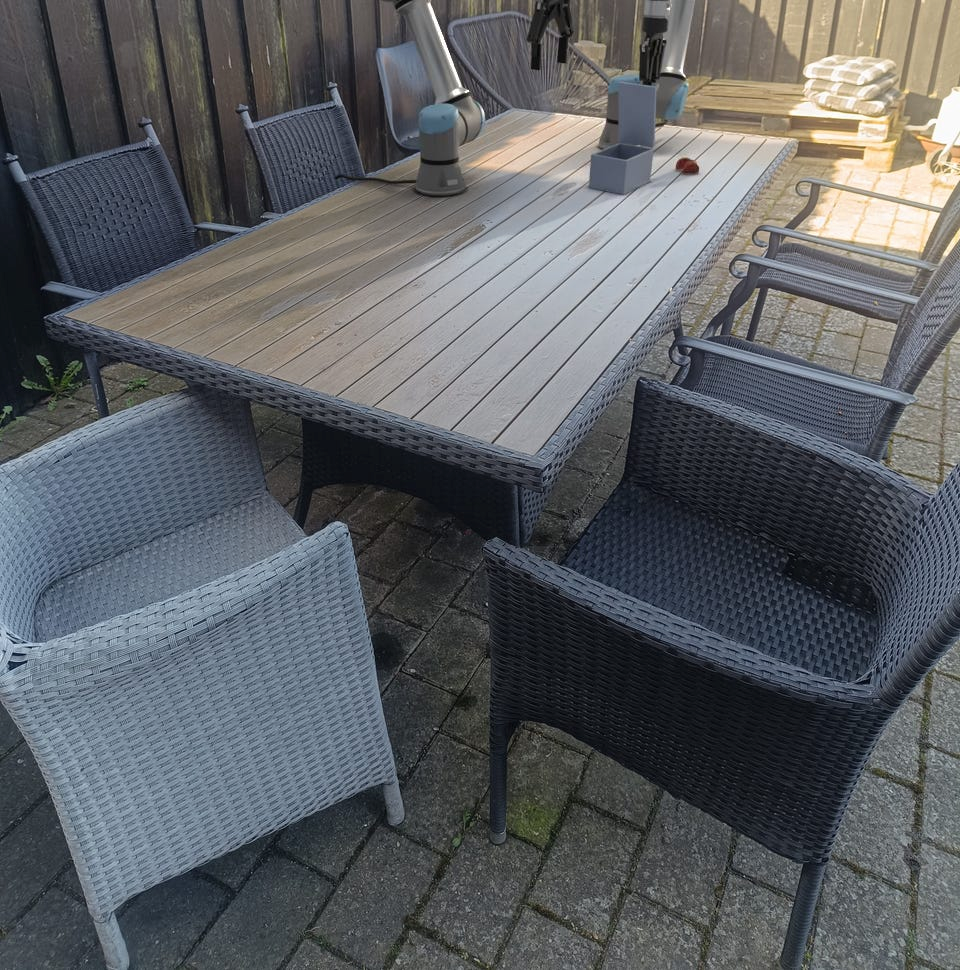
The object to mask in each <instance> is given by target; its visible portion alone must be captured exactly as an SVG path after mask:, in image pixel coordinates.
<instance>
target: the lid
mask: <svg viewBox="0 0 960 970" xmlns="http://www.w3.org/2000/svg"><path fill="white" fill-rule="evenodd" d="M642 83H643V81H640V83H639V84H634V83H626V82H619V83H618V114H619V142H622V143H628V144H634V145H640V146H642V147H645V148H651V149H654V148H655V147H656V146H655V145H656V127H655V124H656V118H655V117H656V91H657V90H658V89H659V84H658V83H652V86H649V85H642Z"/></svg>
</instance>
